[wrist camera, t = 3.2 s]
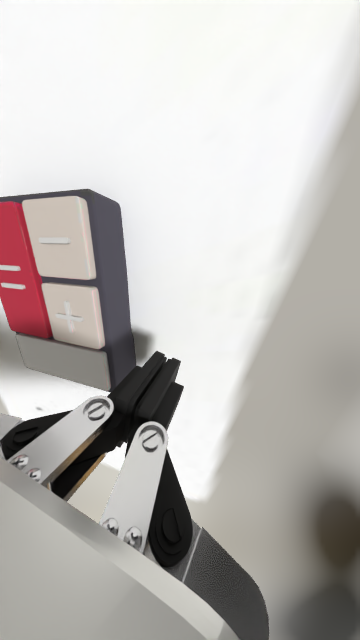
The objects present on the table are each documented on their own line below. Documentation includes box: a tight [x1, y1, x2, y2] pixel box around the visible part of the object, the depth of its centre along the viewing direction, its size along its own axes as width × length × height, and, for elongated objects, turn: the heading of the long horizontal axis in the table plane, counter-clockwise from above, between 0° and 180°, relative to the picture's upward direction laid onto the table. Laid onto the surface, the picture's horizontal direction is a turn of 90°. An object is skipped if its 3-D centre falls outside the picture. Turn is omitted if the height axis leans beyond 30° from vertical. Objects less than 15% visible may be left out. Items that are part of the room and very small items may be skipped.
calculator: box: [0, 189, 136, 392], centre depth 15 cm, size 11×4×15 cm
